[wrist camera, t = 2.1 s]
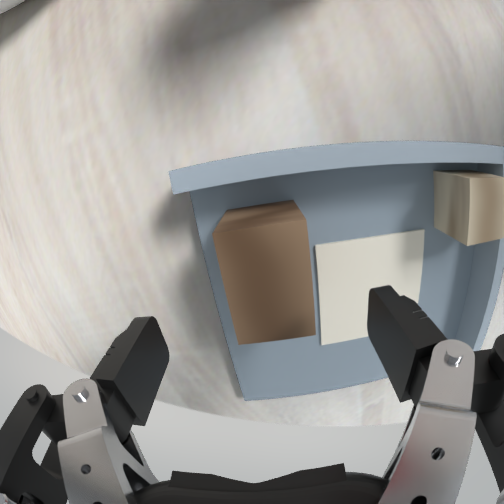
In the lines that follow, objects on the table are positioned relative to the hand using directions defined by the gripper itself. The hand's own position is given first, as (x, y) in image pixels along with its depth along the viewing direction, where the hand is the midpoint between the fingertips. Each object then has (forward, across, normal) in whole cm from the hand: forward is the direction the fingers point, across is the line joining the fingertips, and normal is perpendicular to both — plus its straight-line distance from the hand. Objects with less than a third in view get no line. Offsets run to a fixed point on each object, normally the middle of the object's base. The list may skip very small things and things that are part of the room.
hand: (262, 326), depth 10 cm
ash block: (+8, -14, -2) cm, 16 cm away
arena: (+9, -7, +4) cm, 12 cm away
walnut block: (+8, 0, 0) cm, 8 cm away
